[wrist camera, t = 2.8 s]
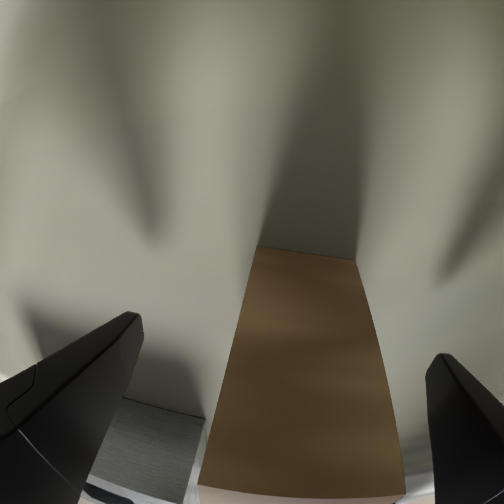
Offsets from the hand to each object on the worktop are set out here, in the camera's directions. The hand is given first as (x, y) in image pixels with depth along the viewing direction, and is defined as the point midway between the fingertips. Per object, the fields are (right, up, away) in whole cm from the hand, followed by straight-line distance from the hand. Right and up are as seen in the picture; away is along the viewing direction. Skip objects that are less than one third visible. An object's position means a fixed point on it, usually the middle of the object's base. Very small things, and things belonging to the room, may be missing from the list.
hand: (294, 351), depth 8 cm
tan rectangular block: (0, +1, +2) cm, 2 cm away
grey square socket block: (-9, -9, +8) cm, 15 cm away
